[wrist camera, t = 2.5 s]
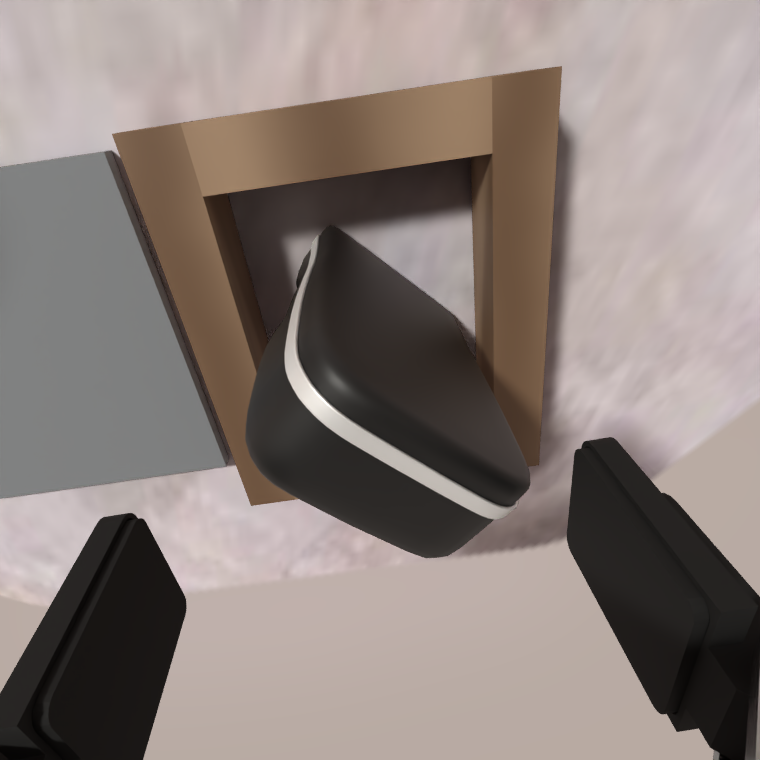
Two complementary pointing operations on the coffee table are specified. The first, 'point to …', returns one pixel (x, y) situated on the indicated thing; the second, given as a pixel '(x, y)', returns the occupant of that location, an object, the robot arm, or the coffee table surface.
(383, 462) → the battery charger
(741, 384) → the coffee table surface
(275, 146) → the frame
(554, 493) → the coffee table surface
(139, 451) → the mat
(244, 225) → the coffee table surface
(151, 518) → the coffee table surface
